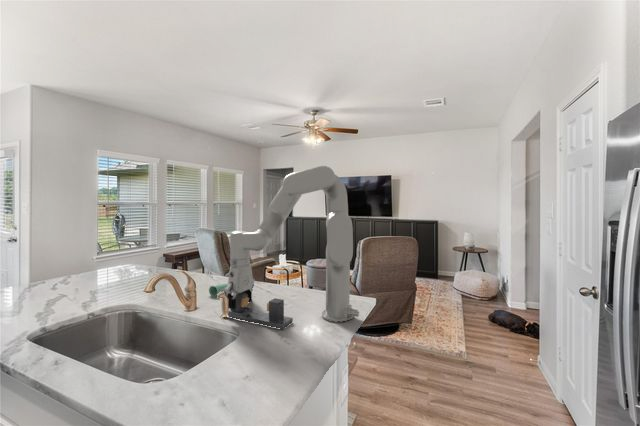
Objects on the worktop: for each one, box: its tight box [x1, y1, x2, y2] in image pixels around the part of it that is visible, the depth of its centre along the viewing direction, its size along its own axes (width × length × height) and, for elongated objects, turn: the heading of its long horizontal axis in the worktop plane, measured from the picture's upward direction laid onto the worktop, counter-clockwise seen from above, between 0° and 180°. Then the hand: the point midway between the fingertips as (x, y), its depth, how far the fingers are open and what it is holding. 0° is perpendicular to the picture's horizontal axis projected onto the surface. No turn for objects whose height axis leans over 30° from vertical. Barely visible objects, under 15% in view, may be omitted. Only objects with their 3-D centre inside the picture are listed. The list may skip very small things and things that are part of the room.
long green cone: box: [208, 282, 228, 298], centre depth 157 cm, size 5×6×27 cm
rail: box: [228, 298, 294, 330], centre depth 117 cm, size 28×7×9 cm, turn 65°
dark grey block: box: [231, 292, 249, 313], centre depth 120 cm, size 5×4×7 cm
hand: (240, 304), depth 120 cm, fingers open, 9 cm apart
